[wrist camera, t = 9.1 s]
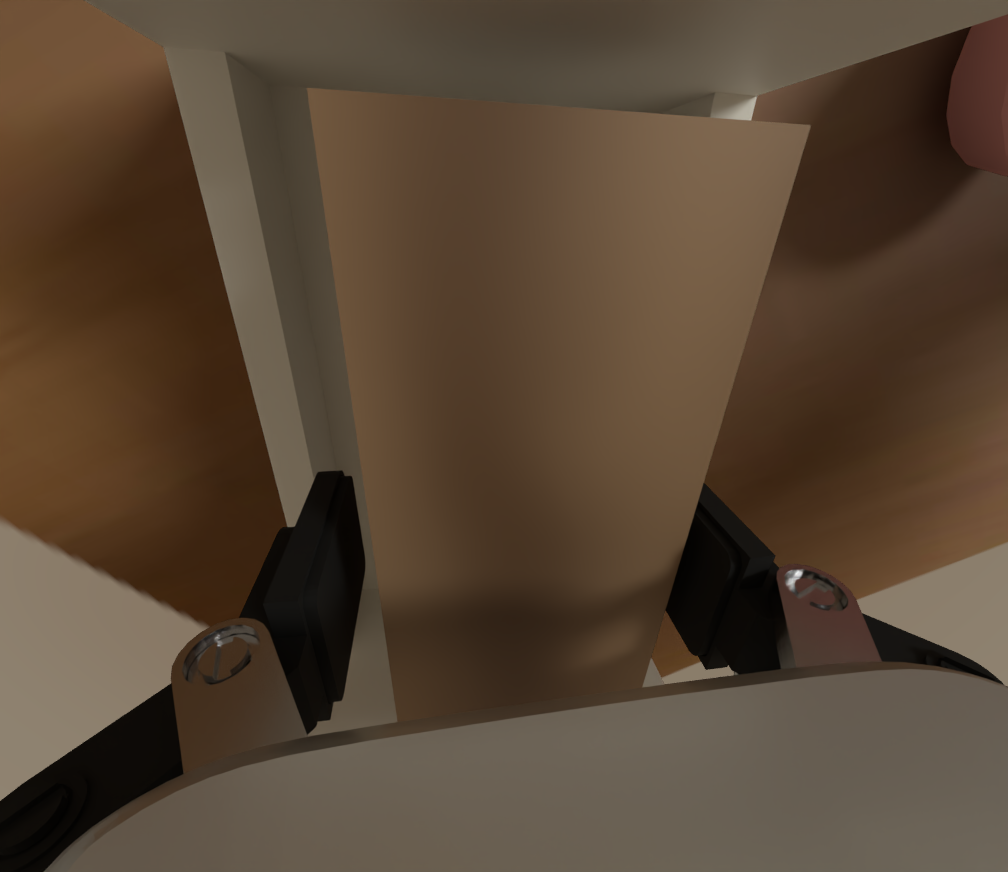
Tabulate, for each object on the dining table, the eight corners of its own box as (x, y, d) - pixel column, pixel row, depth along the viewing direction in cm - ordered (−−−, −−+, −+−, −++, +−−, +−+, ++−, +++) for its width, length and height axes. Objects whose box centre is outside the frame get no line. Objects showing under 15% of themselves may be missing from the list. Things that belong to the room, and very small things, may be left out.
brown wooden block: (641, 159, 10) (811, 125, 5) (568, 632, 17) (615, 777, 13) (366, 143, 9) (306, 86, 5) (415, 650, 16) (410, 811, 12)
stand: (684, 77, 14) (1221, -185, 5) (596, 567, 25) (706, 805, 15) (228, 38, 12) (-542, -594, 3) (340, 591, 23) (273, 885, 13)
